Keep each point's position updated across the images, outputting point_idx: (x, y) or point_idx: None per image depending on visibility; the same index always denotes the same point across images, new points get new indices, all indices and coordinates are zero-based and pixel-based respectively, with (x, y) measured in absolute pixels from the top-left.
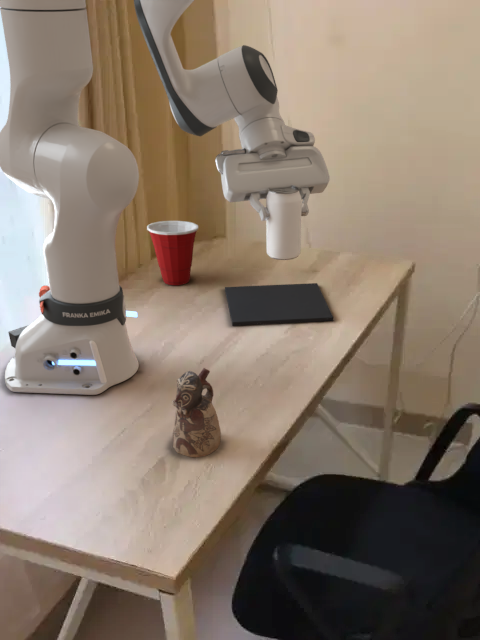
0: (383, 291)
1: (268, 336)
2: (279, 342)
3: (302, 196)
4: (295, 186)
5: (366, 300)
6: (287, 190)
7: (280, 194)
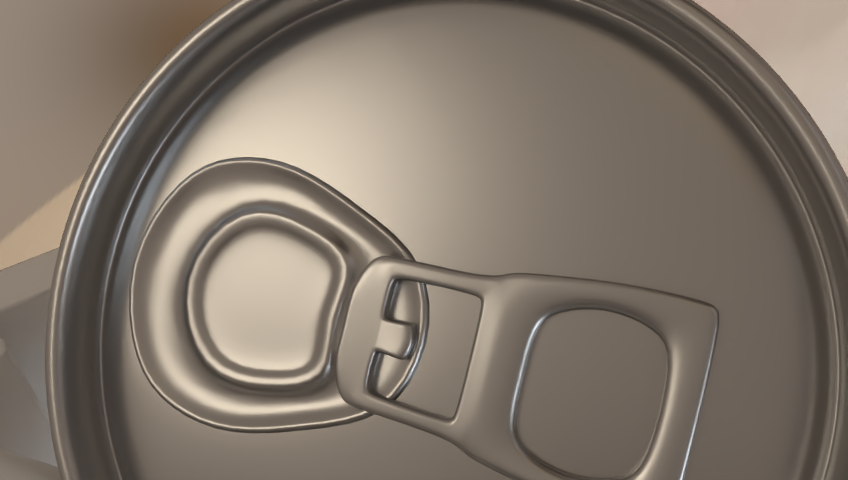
0: (7, 261)
1: (826, 121)
2: (816, 27)
3: (32, 399)
4: (62, 356)
5: None
6: (363, 270)
7: (733, 71)
